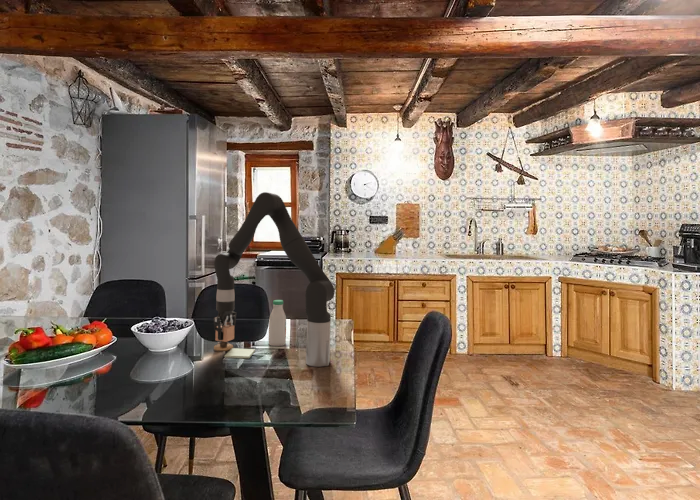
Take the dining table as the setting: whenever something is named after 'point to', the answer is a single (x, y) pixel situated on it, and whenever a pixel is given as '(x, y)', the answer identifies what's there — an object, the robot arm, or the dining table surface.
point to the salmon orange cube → (226, 333)
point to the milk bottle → (277, 324)
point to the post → (223, 346)
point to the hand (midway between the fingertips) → (225, 338)
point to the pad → (240, 353)
